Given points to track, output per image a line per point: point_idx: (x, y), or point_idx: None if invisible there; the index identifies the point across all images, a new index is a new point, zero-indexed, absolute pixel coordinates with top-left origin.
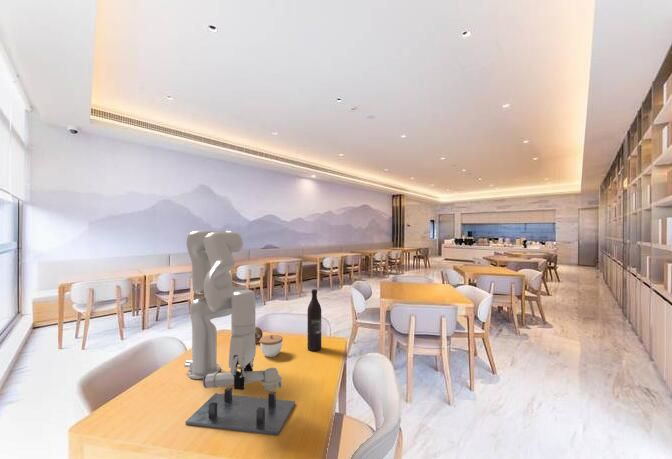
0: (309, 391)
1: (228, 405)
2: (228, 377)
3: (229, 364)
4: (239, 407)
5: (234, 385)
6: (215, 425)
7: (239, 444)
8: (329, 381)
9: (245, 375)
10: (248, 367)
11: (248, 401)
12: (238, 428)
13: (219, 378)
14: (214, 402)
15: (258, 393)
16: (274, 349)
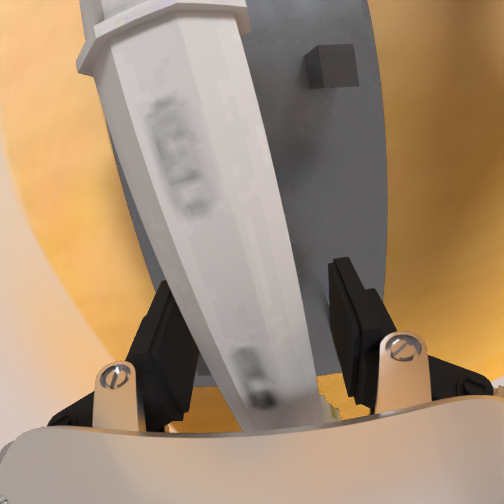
0: (447, 358)
1: (276, 104)
2: (156, 236)
3: (3, 472)
4: (279, 176)
5: (157, 297)
6: (117, 158)
7: (105, 300)
8: (491, 374)
9: (231, 400)
10: (360, 389)
11: (343, 192)
12: (148, 265)
13: (113, 124)
14: (275, 8)
15: (437, 183)
16: None
